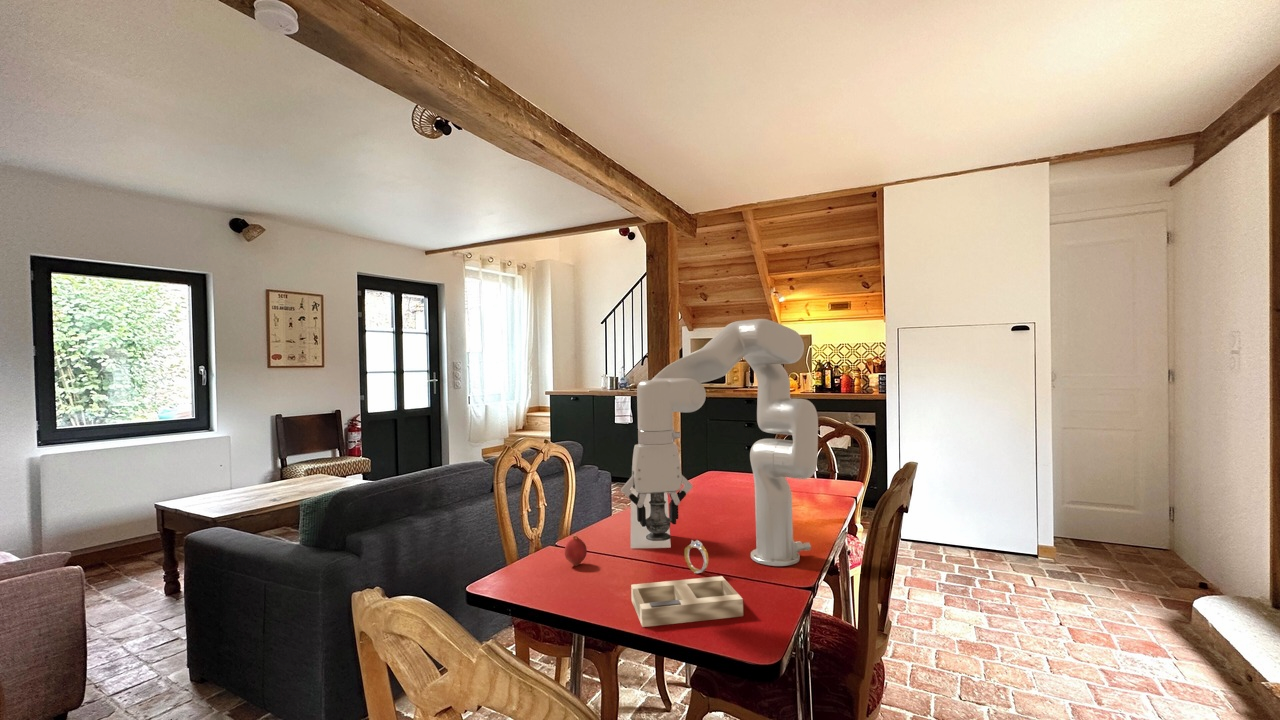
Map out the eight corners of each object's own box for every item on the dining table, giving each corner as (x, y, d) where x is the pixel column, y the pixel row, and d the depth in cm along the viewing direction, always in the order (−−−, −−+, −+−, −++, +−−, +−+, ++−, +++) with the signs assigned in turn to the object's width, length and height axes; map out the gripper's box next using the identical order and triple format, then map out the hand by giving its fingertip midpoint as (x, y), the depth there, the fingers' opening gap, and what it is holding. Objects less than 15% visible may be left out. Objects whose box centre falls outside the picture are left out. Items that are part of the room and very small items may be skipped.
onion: (565, 562, 148) (564, 532, 148) (587, 561, 149) (586, 531, 149) (564, 570, 142) (563, 538, 143) (586, 568, 143) (586, 537, 143)
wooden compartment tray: (722, 591, 126) (722, 575, 126) (743, 616, 113) (742, 597, 114) (631, 600, 122) (631, 583, 123) (642, 627, 110) (641, 608, 110)
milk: (670, 547, 158) (668, 456, 159) (630, 548, 159) (628, 457, 159) (669, 535, 170) (667, 450, 171) (631, 536, 171) (629, 451, 171)
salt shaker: (670, 542, 114) (668, 483, 114) (641, 541, 115) (640, 482, 115) (674, 533, 120) (672, 477, 120) (647, 532, 121) (645, 477, 121)
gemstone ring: (711, 575, 136) (710, 542, 136) (701, 578, 134) (700, 545, 135) (691, 567, 142) (690, 536, 142) (682, 570, 140) (681, 538, 140)
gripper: (690, 434, 123) (692, 516, 123) (613, 438, 120) (615, 522, 119) (700, 438, 116) (702, 525, 115) (618, 442, 112) (620, 532, 112)
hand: (657, 523), depth 117 cm, fingers closed on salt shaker, 5 cm apart
